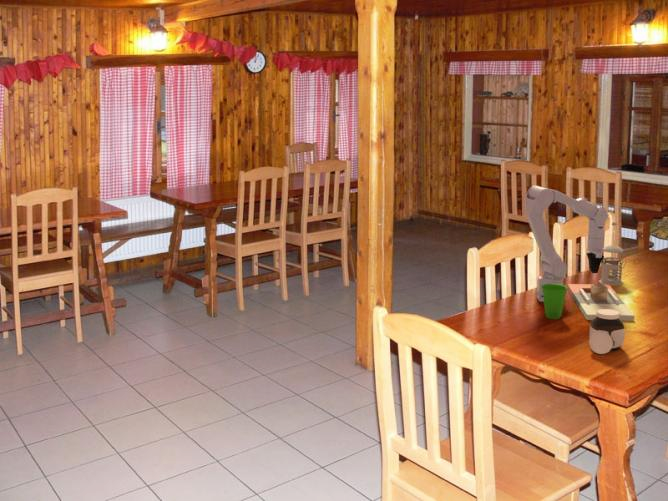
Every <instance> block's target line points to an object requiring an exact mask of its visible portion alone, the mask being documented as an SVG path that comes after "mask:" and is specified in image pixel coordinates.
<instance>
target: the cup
mask: <svg viewBox="0 0 668 501" xmlns="http://www.w3.org/2000/svg"><path fill="white" fill-rule="evenodd" d="M541 288H542V289H543V297H544V302H543V305H544V315H545V317H546V318H547V319H550V320H558V319H561V317H562V313H563V309H564V303H565V302H564V300H565V301H566V294H567V291H568V287H567V285H564V284H563V285H561V284H545V285H542V286H541Z"/></svg>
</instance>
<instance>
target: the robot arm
mask: <svg viewBox="0 0 668 501" xmlns="http://www.w3.org/2000/svg"><path fill="white" fill-rule="evenodd" d="M524 197H525V200H526V203H525V204H526V206H525V216H526V219H527V222H528V224H529V227H530V229H531V233H532V234H533V236H534V239H535V242H536V245H537V248H538V250H539V251H540V255H541V256H540V257H539V260H540V269H541V271H542V272H543V276H542V275H541V276H538V277H537V279H536V280H537V282H536V283H537V284H536V297H537V300H538V302H541V303H544V297H543V289H542V288H541V286H542V285H545V284H561V285H564V278H565V276H566V275H567V274H568V273H567V272H568V266H567V264H566V263H565V262H564V261H563V260H562V257H561V256H560V255H559V253H557V250H556V248H555V246H554V242H553V241H552V239H551V236H550V233H549V231H548V228H547V226H546V223H545V220H544V217H543V214H544V212H545V211H546V210H547V209H548V208H549V207H550V205H552V203H553V204H554V203H555V204H556V203H557V202H558V203H561V204H563V205H566V206H568V207H570V208H571V210H572V212H573V213H576V214H579V216H583V217H585V218H586V219H588V232H587V233H588V234H587V248H586V251H587V252H586V253H585V254H586V256H587V259H588V264H589V270H590V272H591V274H598V273H599V271H600V266H601V265H602V262H603V261H604V260H603V258H605V255H603V253H604V252H605V251H606V248H605V247H604V245H605V244H604V243H605V242H604V240H605V229H606V228H605V226H606V222H607V220H608V219H609V215H610V214H608V211H607V209H606V208H605V207H604V206H600V205H598V203H596V202H590V201H588V199H587V198H586V197H578V198H573V197H571V196H569V195H567V194H564V193H563V192H561V191H559V190H555V189H551V188H546V187H543V186H542V187H541V186H540V185H537V184H536V185H531V187H530V188H528V190H527V192H526V193H525V196H524ZM565 301H566V299H565V300H564V303H565Z"/></svg>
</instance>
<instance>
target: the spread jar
mask: <svg viewBox="0 0 668 501" xmlns="http://www.w3.org/2000/svg"><path fill="white" fill-rule="evenodd" d="M619 317H620V313H619V312H618V311H616V310H611V309H600V310H598V311H597V317H595V318H594V319H593V320H591V321H590V325H589V342H588V344H589V346H590V347H589V348H590V349H591V350H592V351H593V352H594V353H596V354H598V355H605V354H607V353H609V352H615V351H617V350H619V349H621V347H622V346H623V345H624V342H625V333H626V331H625V330H626V328H625V324H624V321H621V320H620V319H619Z"/></svg>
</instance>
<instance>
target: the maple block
mask: <svg viewBox="0 0 668 501" xmlns="http://www.w3.org/2000/svg"><path fill="white" fill-rule="evenodd" d="M607 293H608V287H607V286H606V285H605V284H601V283H591V298H592V300H600V301H607Z"/></svg>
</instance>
